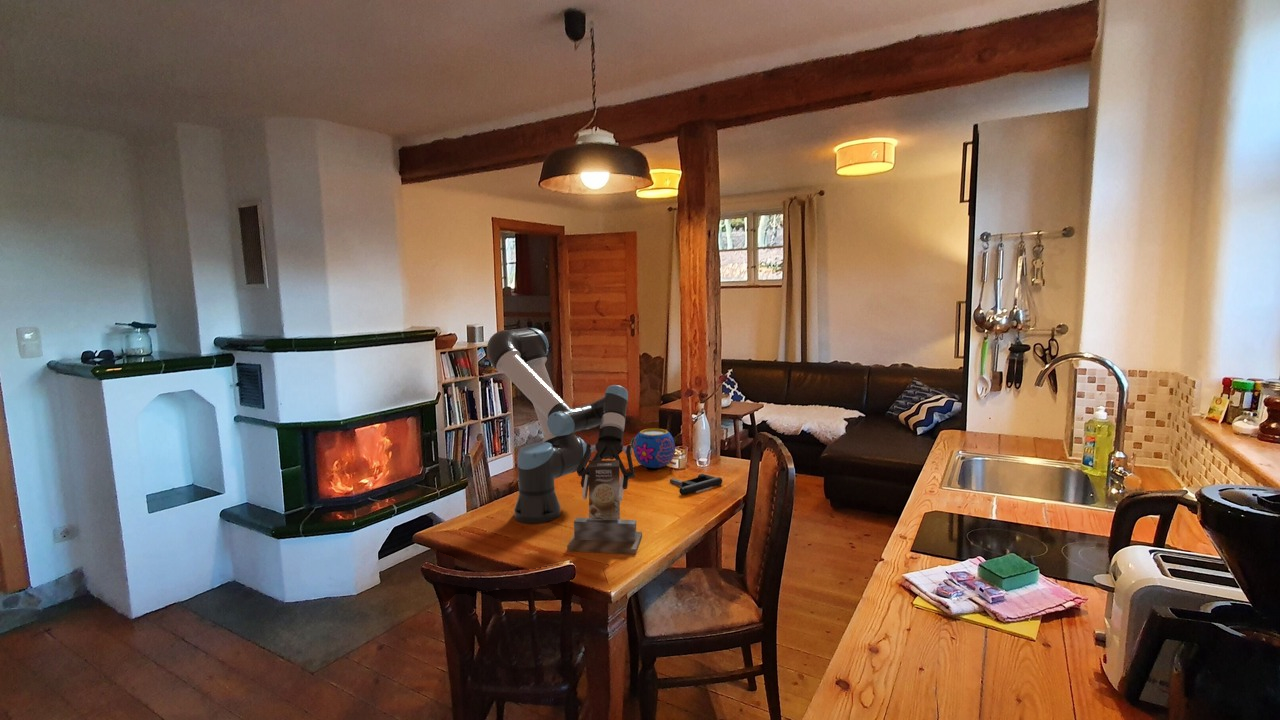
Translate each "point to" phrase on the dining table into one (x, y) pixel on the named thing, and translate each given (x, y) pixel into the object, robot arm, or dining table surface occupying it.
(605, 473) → the coffee box
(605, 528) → the ridge stand
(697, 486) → the door handle
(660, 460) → the ceramic pot
